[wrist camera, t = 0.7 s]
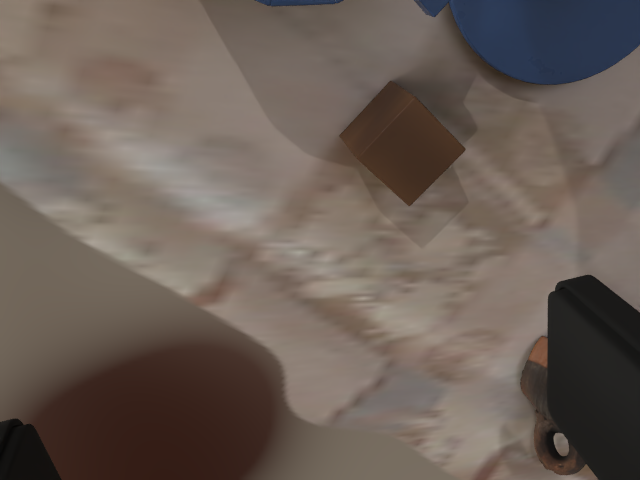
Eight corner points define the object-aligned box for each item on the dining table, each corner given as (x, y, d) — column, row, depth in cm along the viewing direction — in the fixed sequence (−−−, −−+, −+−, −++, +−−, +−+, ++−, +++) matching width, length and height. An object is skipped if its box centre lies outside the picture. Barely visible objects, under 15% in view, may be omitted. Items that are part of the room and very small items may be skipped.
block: (390, 80, 35) (415, 96, 31) (437, 128, 36) (466, 149, 33) (339, 135, 35) (356, 158, 32) (387, 180, 37) (409, 206, 33)
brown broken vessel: (550, 298, 45) (665, 350, 39) (587, 315, 52) (689, 360, 46) (482, 439, 45) (585, 509, 40) (527, 437, 52) (620, 496, 47)
